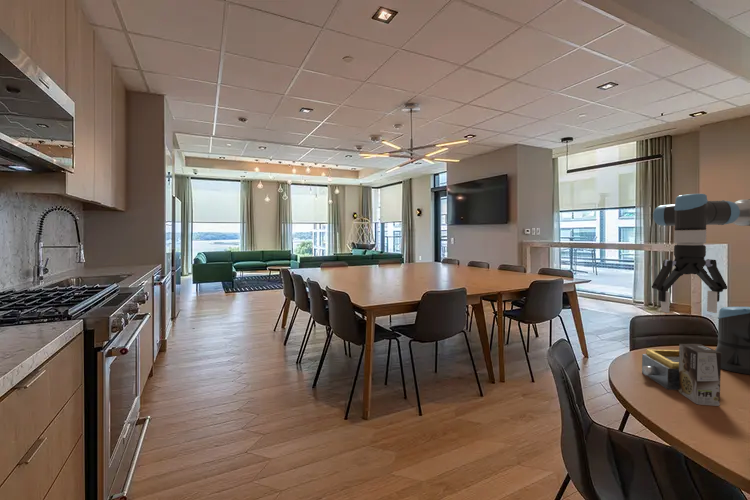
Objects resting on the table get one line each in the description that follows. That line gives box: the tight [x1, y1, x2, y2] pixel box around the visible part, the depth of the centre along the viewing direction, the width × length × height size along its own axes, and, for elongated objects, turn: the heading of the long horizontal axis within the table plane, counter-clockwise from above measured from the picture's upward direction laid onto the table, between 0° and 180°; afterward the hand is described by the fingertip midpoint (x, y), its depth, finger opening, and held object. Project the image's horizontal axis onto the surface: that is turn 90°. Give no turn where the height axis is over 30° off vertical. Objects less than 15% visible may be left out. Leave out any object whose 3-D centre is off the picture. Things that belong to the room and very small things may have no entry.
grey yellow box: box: [641, 348, 679, 391], centre depth 127 cm, size 17×14×9 cm
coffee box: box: [678, 343, 722, 407], centre depth 113 cm, size 9×6×16 cm
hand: (688, 312), depth 115 cm, fingers open, 13 cm apart
